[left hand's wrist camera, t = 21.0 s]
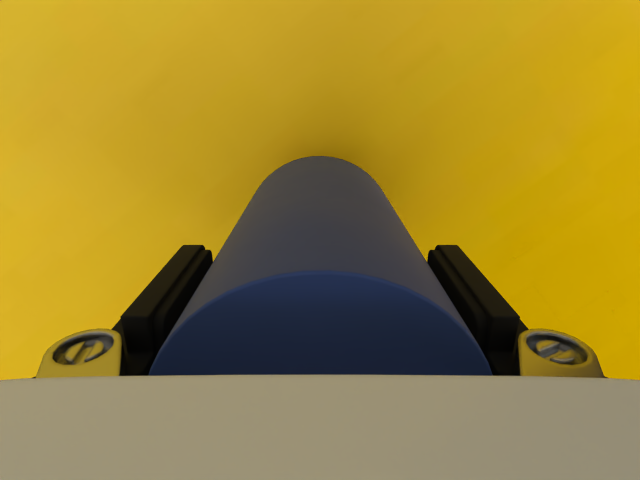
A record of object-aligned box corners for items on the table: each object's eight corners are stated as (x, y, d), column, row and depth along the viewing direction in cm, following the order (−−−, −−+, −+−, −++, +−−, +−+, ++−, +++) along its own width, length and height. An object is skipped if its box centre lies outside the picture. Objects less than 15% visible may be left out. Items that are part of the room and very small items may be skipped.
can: (246, 152, 16) (119, 262, 6) (399, 159, 16) (536, 279, 6) (248, 289, 18) (158, 546, 8) (383, 295, 18) (466, 555, 8)
